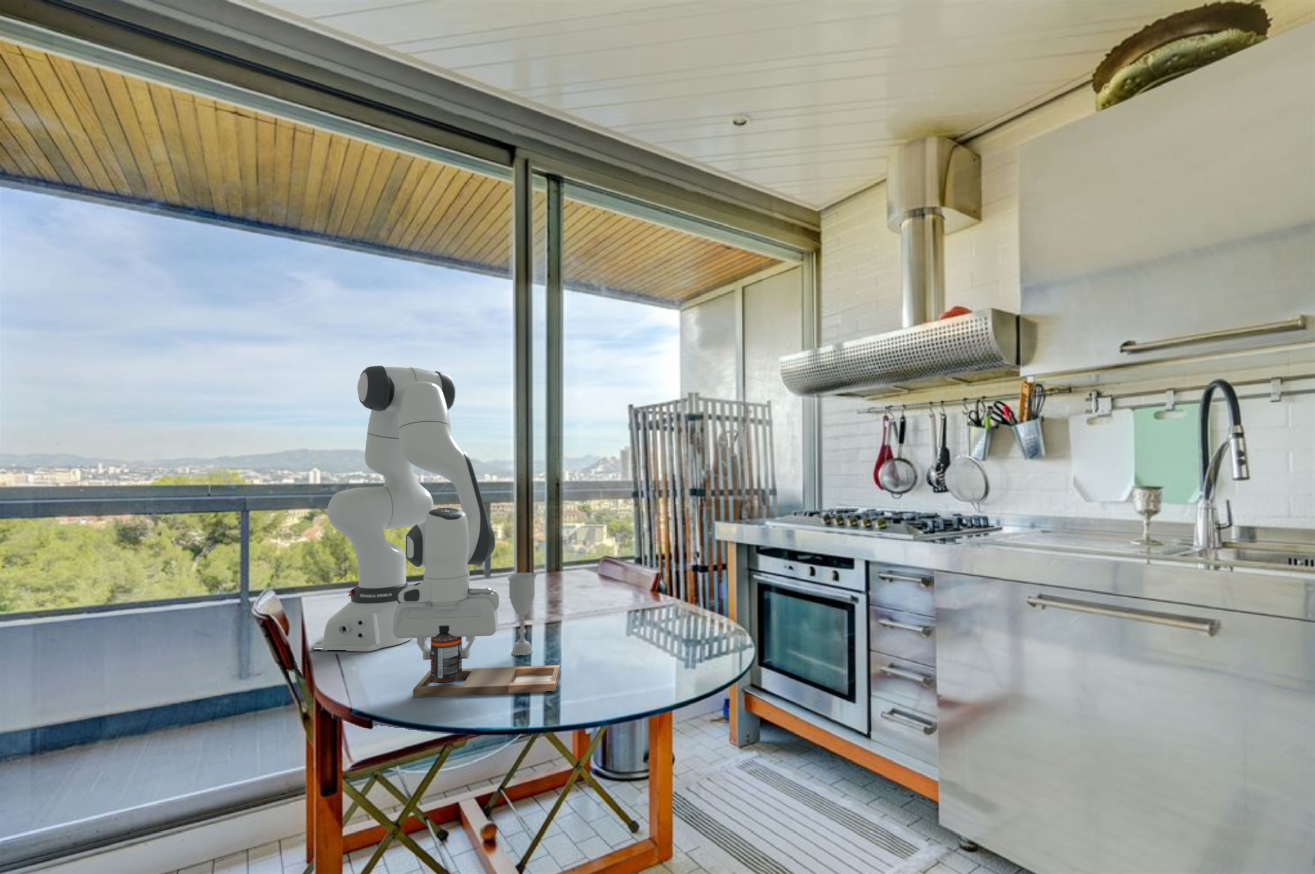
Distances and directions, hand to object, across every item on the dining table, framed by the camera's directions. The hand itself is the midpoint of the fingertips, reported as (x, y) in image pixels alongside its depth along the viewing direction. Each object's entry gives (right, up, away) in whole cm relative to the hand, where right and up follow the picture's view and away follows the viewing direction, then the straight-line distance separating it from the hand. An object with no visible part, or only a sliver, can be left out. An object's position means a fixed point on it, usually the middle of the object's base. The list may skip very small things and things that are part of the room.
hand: (446, 658), depth 124 cm
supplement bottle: (0, -4, 0) cm, 4 cm away
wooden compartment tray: (+9, -5, 0) cm, 10 cm away
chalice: (+11, -6, +21) cm, 24 cm away
